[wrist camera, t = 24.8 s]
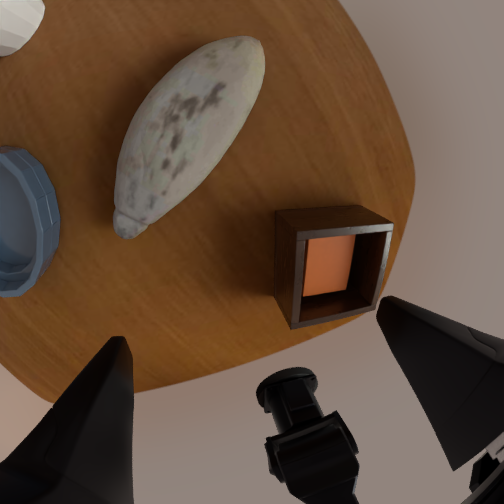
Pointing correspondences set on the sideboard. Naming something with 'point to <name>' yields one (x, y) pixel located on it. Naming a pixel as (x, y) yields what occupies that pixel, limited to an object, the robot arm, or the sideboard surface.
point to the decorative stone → (184, 129)
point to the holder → (361, 270)
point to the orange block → (327, 264)
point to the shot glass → (18, 23)
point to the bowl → (25, 221)
